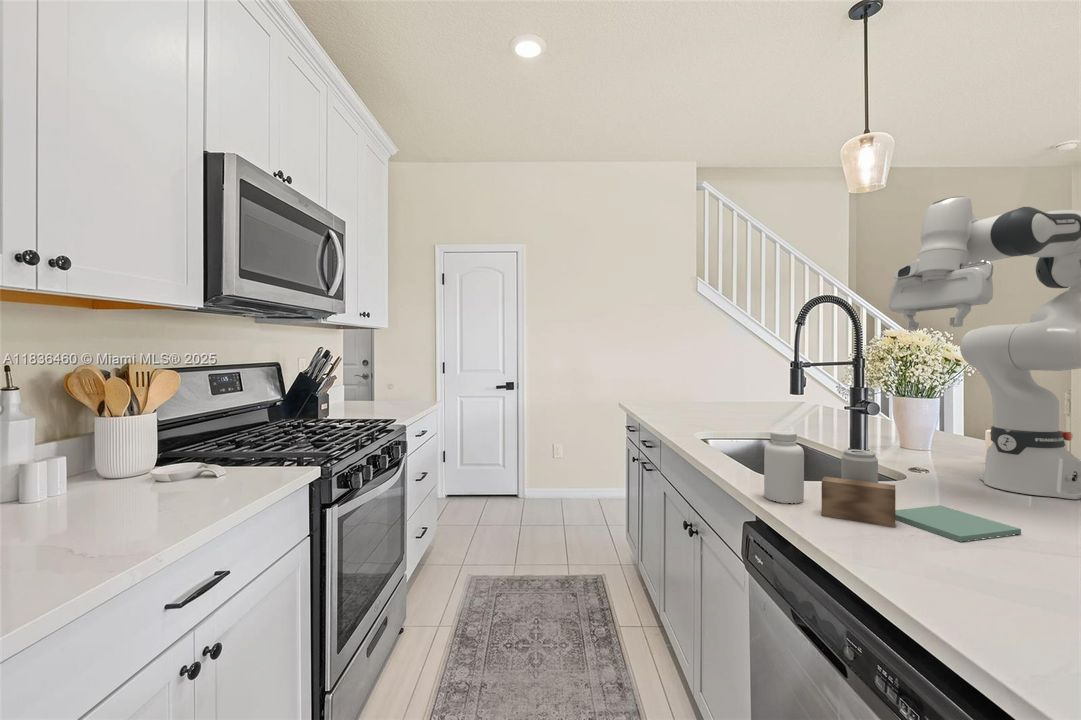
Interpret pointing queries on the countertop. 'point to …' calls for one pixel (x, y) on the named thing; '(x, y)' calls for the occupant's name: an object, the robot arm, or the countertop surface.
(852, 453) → the beverage can
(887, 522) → the walnut screen
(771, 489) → the pill bottle
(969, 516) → the green pad
